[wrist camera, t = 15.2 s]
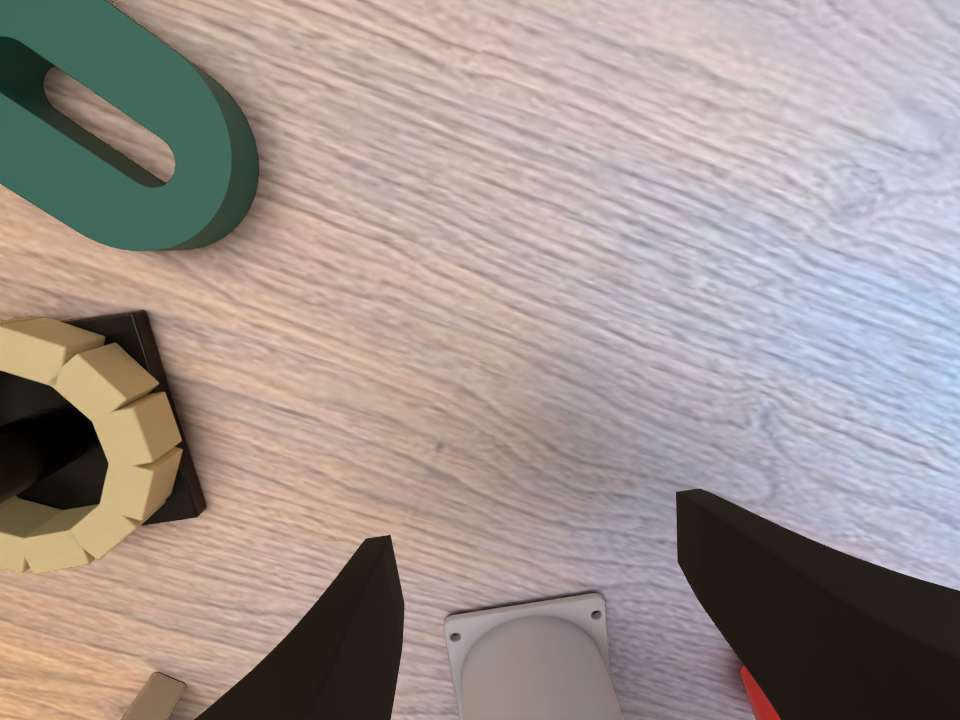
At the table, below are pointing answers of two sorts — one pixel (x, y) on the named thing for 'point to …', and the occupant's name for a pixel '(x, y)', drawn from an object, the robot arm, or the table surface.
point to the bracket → (142, 96)
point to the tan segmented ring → (121, 431)
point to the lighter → (155, 699)
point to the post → (80, 433)
